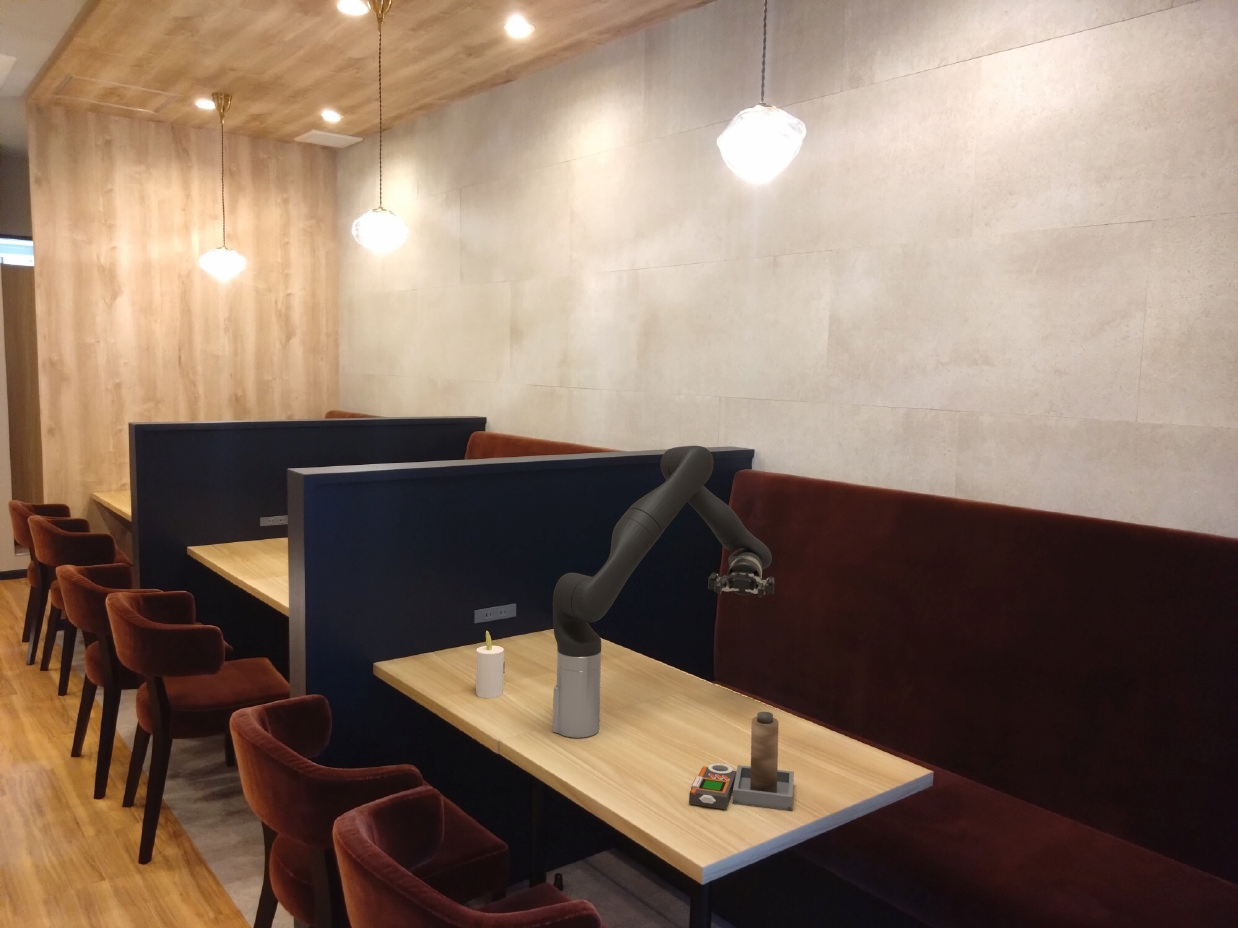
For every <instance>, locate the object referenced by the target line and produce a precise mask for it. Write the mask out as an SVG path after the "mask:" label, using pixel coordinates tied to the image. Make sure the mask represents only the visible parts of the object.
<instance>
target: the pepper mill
mask: <svg viewBox="0 0 1238 928" xmlns="http://www.w3.org/2000/svg"><path fill="white" fill-rule="evenodd" d="M778 757H779V719H777V718H775V717H774V714H773V713H772V712H769V711H759V712H757V715H756V716H754V717H752V719H751V737H750V767H751V779H750V790H755V791H763V792H772V793H777V770H778V763H779V758H778Z"/></svg>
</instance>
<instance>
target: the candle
mask: <svg viewBox="0 0 1238 928" xmlns="http://www.w3.org/2000/svg"><path fill="white" fill-rule="evenodd" d="M485 644H486V645H483V646H480V647H477V648H476V655H475V658H476V659H475V660H476V661H475V663H476V665H475V671H476V672H475V679H476V680H475V682H476V683H475V694H476V696H477V697H478V698H482V699H496V698H499V697H501V696H503V695H504V681H505V680H504V679H505V677H504V675H505V672H506V671H505V668H506V667H505V666H506V664H505V658H504V657H505V648H503V646H498V645H493V644H492V638H491V635H490V632H489V631H488V630H486V631H485Z"/></svg>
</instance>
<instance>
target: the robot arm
mask: <svg viewBox="0 0 1238 928" xmlns="http://www.w3.org/2000/svg"><path fill="white" fill-rule="evenodd" d="M713 469H714V457H713V454H712V452H711V451H710V450H709V449H707V448H706V447H704V446H702V445H685V446H676V447H671V448H669V449H667V450H666V451H665V452H664V453H663V454H662V457H661V459H660V471H661V473H662V476H663V477H664V479H665V481H664V482H663V483H662V484H660V486H657V487H656V488H654V489H653V490H651V491H649V492H648V493H647V494H645V495H644V496H642V497H641V498H639V499H638V500H636V501H635V502H634V503H633V504H631V506H629V508H628V509H627V510H626V511H625V513H624V514H623V515H622V516H621V517H620V519H619V520H618V521H617V523H616V524H615V526H614V527H613V531H612V536H611V544H610V545H611V546H610V553H609V557H608V558H607V560H606V562H605V563H604V564H603V565H602V567H601V568H600V569H599V570H598V572H596V574H594V575H593V576H590V575H586V574H581V573H576V572H568V573H565V574H563V575H562V576H561V577H560V578H559V579H558V581H557V583H556V585H555V587H554V590H553V596H552V597H553V598H552V614H553V615H552V616H553V617H552V619H553V620H552V621H553V636H554V638H555V639H554V640H555V642H556V645H557V647H556V649H557V651H556V685H555V686H554V687H553V698H552V699H553V700H552V701H553V704H552V705H553V709H552V713H553V714H552V732H553V733H557V734H559V735H561V736H564V737H568V738H578V739H580V738H588V737H591V736H594V735H597V733H599V731H600V721H601V719H600V716H601V677H602V676H601V673H602V672H601V670H602V669H601V667H602V663H601V662H602V639H601V637H600V636H599V634H598V633H597V632H595V630H594V629H593V628H592V627H591V626H590V623H596V622H597V621H599V620H601V619H603V617H604V616H605V615H606V614H607V613H608V611H609V610H610V608H611V607H612V605H613V604H614V602H615V600H616V599H617V598H618V595H619V594H620V593H621V591H622V589H623V587H624V586H625V584H626V582H627V581H628V579H629V578H630V577H631V575H632V574H633V572H634V571H635V570H636V568H637V567H638V566H639V564H640V563H641V561H642V560H643V559H644V557H645V556H646V555H647V554H648V552H649V551H650V550H651V549H652V548H653V546H654V545H655V544H656V542H657V541H658V540H659V538H660V537H661V536H662V534H663V533H664V531H665V530H666V529H667V527H668V526H669V525H670V524H671V523H672V521H673V520H674V519H675V518H676V516H677V515H678V514H679V512H680V511H681V510H682V508H684V507H685V505H686V504H687V503H688V504H689V505H690V506H691V508H693V510H694V511H696V513H698V515H699V516H700V517H701V518H702V520H703V521H704V522H705V523H706V524H707V526H708V527H709V528H710V529H711V531H712V533H713V534H714V535H715V537H716V538H717V540H718V541H719V543H720V544H721V545H722V546H723V548H724V549H726V550H728V551H734V552H732V553H731V554H730V555H729V557H728V558H727V559H728V567H729V568H728V570H727V574H724V575H723V576H719V574H718V573H717V572H712V573H711V574H710V576H709V577H708V578H707V579H708V581H707V583H708V584H707V590H710V591H711V590H712V591H713V590H714V591H713V592H715V593H716V594H717V595H721V594H722V592H723V591H724V592H734V593H735V594H737V595H741V596H748V595H752V594H757V598H762V597H764V596H765V595H766V593H767V594H769V595H774V594H775V577H774V576H768V577H767V578H766V579H762V578H763V577H762V575H763V570H765V569H767V568H769V567H770V565H771V564H772V561H773V555H772V553H771V550H770V548H769V547H768V546H767V545H766V544H765V543H764V542H762V541H761V540H760V539H759V538H757V537H756V536H755V535H753V534H752V533H751V532H750V531H749V530H748V529H747V528H746V527H745V525H744V523H743V522H742V520H741V519H740V518H739V516H738V514H736V512H735V511H734V509H732V507H730V506H729V504H727V503H726V502H724V501H723V500H721V499H720V498H719V497H717V496H716V495H715V494H713V493H712V492H711V491H710V490H709V489H708V488H707V487H706V486H705V484H706V483H707V482H708V480H709V479H710V477H711V475H712V473H713Z"/></svg>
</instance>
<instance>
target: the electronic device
mask: <svg viewBox="0 0 1238 928" xmlns="http://www.w3.org/2000/svg"><path fill="white" fill-rule="evenodd" d="M736 772H737V770H734V768H733V767H732V766H730V764H725V763H718V762H717V763H711V764H709V765H708V766H702V767H701V769H700V771H699V773H698V775H696V776H695V778H694V780H693V782H692V784H691V785H690V791H689V794H688V804H689V805H694V806H702V807H707V808H714V809H721V810H727V809H728V808H727V807H728V805H729V802H730V800H731V797H732V796H733V787H734V782H735V777H736Z"/></svg>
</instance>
